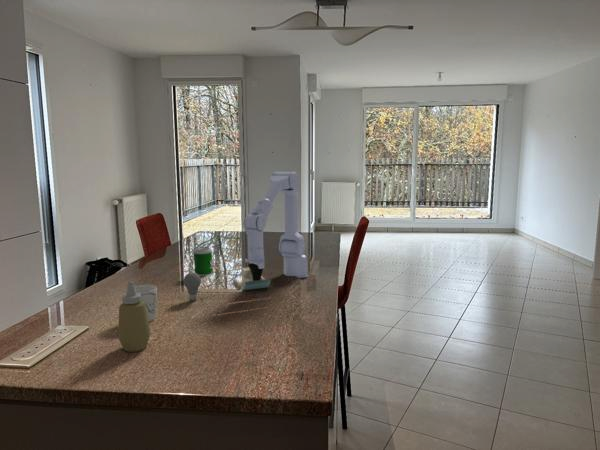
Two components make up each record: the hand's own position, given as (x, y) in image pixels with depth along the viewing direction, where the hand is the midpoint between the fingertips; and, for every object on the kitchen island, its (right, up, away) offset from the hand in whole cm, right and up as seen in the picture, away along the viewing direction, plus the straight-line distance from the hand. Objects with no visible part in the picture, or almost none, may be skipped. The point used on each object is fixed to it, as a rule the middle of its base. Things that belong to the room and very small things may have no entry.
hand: (256, 283), depth 163 cm
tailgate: (-1, -3, +3) cm, 4 cm away
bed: (-3, -3, +8) cm, 9 cm away
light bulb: (-22, -5, -7) cm, 23 cm away
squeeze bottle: (-28, -11, -46) cm, 55 cm away
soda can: (-25, 0, +24) cm, 35 cm away
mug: (-33, -8, -27) cm, 44 cm away
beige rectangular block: (-4, -1, +10) cm, 10 cm away
